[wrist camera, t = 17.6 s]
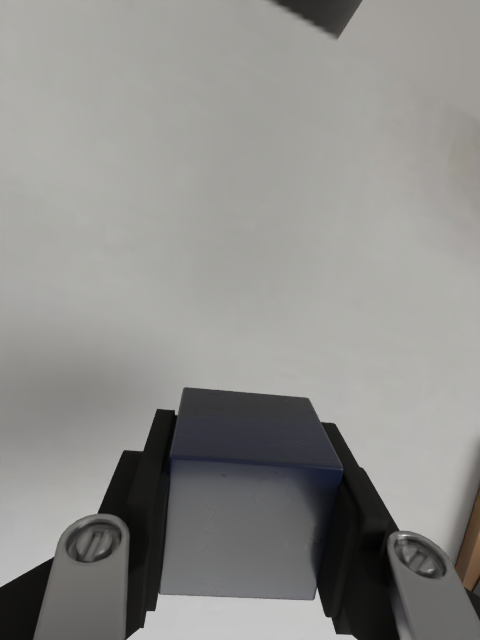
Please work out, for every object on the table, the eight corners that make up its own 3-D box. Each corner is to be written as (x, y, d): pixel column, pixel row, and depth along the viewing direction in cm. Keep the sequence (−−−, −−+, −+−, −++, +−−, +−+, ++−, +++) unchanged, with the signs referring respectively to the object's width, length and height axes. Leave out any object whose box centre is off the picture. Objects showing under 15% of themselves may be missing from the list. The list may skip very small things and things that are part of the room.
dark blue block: (183, 386, 11) (168, 456, 8) (309, 397, 12) (345, 468, 8) (173, 494, 12) (156, 595, 9) (289, 501, 13) (315, 602, 9)
